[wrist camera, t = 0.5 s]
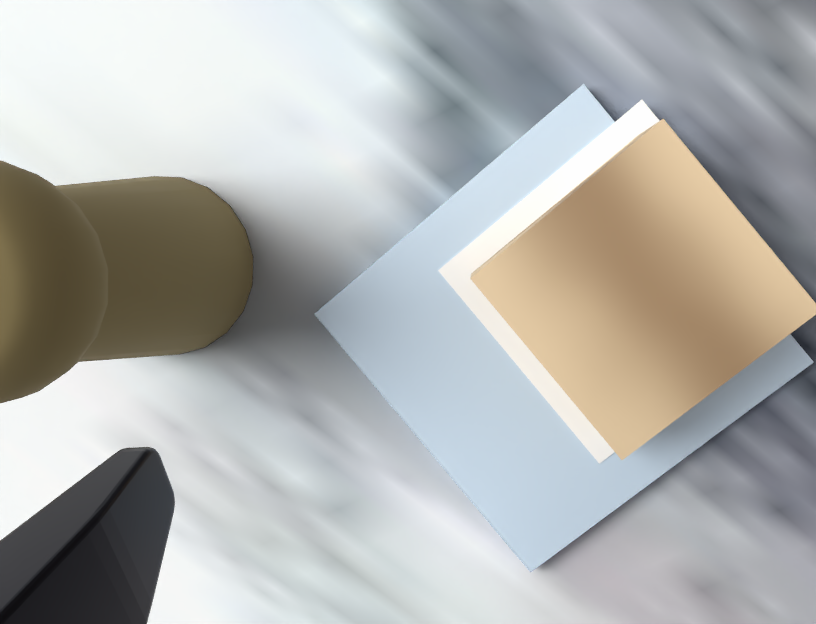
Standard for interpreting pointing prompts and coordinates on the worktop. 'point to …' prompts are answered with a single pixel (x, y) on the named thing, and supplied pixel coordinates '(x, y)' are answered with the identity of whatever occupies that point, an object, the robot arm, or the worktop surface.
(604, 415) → the oak block
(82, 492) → the robot arm
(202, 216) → the cork
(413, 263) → the pale blue tile
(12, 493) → the worktop surface
